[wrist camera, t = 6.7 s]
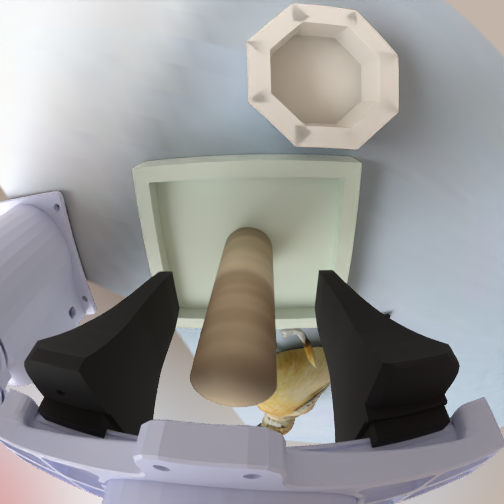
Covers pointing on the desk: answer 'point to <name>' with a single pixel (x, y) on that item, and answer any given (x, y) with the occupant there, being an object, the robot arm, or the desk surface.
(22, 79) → the desk surface
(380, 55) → the pin cup
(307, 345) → the decorative bird model
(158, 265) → the tray
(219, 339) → the dowel pin
